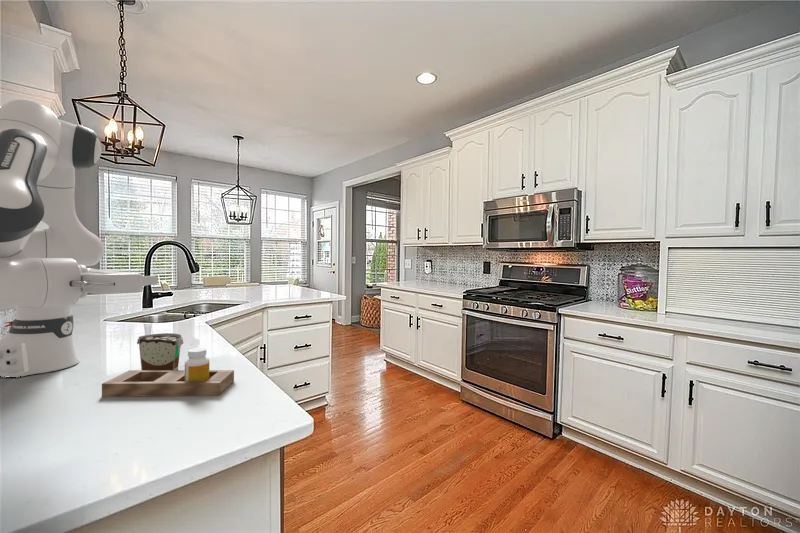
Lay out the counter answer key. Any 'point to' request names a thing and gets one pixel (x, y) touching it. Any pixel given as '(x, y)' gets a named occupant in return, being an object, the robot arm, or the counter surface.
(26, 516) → the counter surface
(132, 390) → the socket rail
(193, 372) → the supplement bottle
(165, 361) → the food container
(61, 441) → the counter surface
